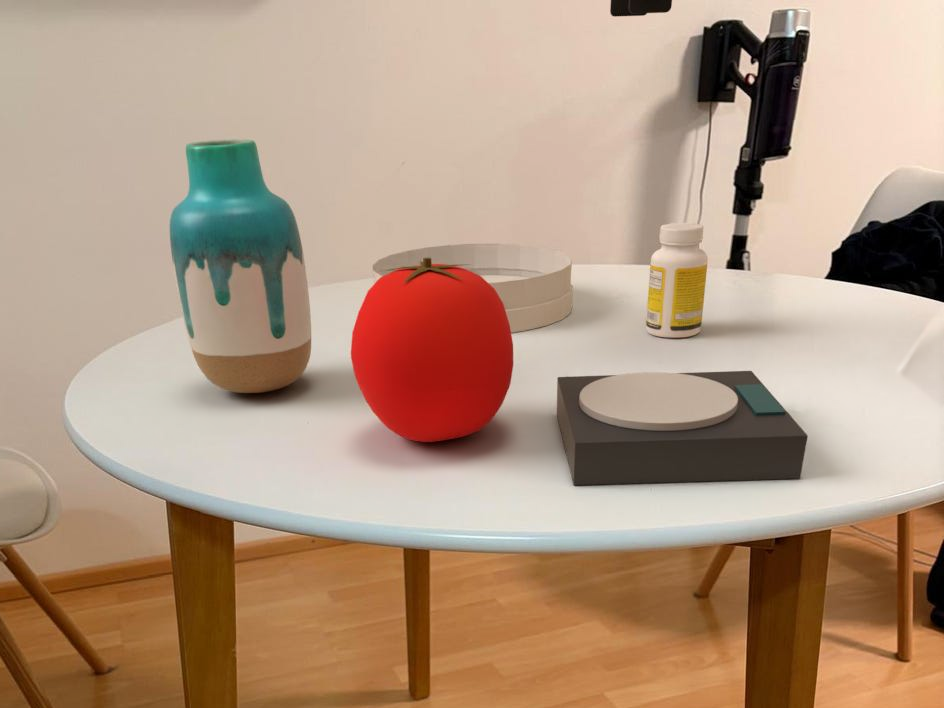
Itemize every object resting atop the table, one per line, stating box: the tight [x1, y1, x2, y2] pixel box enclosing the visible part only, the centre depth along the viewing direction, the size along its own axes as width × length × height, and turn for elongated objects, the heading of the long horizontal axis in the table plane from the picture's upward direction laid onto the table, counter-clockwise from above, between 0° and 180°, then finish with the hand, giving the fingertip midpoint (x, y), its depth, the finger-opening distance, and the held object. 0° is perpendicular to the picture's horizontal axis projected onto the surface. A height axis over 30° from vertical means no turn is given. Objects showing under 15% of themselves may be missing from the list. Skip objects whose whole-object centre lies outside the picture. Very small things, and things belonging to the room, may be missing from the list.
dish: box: [372, 243, 574, 334], centre depth 100 cm, size 22×22×5 cm
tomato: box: [350, 258, 514, 443], centre depth 66 cm, size 12×12×13 cm
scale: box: [556, 370, 809, 486], centre depth 65 cm, size 15×14×4 cm
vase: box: [169, 139, 312, 394], centre depth 75 cm, size 11×11×19 cm
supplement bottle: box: [645, 222, 709, 339], centre depth 88 cm, size 5×5×10 cm
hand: (638, 14), depth 74 cm, fingers open, 9 cm apart
